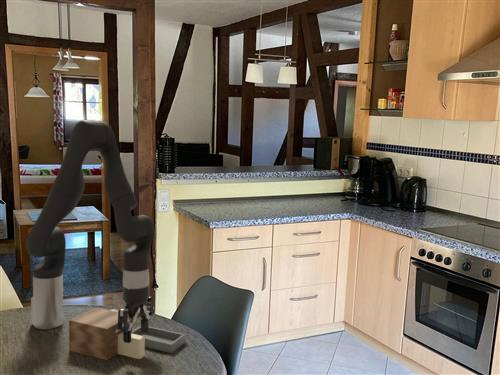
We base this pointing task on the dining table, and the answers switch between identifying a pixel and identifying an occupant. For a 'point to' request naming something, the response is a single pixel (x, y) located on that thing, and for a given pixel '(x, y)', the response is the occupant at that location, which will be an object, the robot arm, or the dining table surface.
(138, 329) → the tray
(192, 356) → the dining table surface
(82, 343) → the wooden block
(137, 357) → the cream rectangular block
